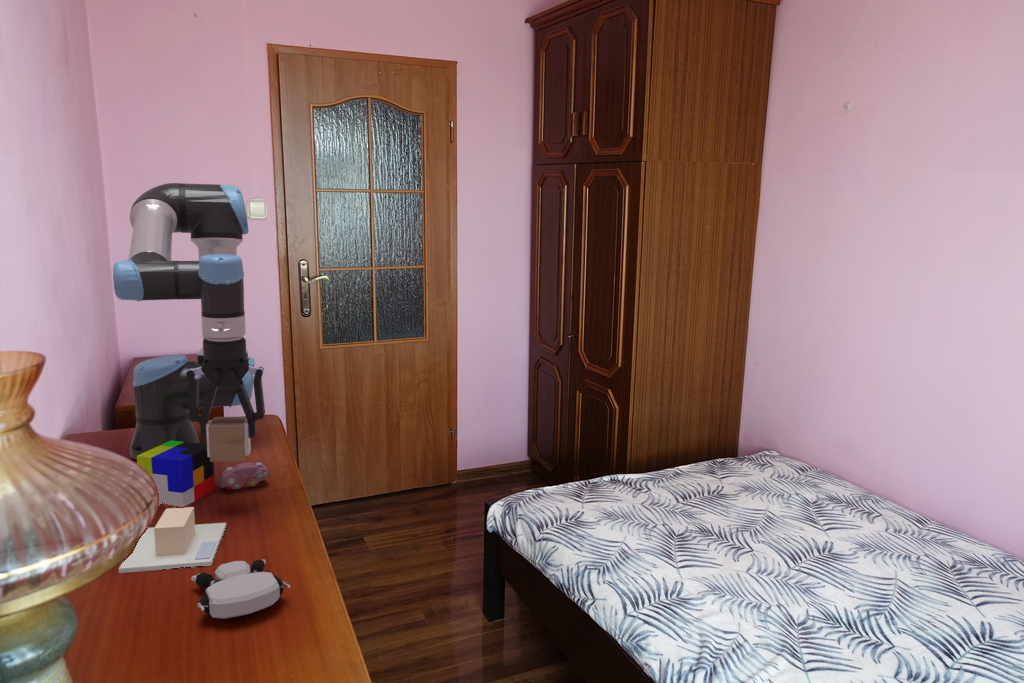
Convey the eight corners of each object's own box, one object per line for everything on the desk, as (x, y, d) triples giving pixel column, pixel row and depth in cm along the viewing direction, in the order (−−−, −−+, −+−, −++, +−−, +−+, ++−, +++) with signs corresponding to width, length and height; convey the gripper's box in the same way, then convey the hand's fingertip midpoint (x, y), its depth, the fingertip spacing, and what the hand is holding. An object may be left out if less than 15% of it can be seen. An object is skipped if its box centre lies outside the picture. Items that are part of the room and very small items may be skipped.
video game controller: (220, 499, 145) (222, 476, 142) (216, 483, 148) (218, 460, 144) (268, 490, 151) (271, 468, 147) (264, 475, 154) (266, 453, 150)
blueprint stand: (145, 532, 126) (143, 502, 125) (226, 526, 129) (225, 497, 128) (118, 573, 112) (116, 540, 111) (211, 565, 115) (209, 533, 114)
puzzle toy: (183, 508, 137) (181, 460, 135) (139, 503, 139) (136, 456, 137) (214, 489, 146) (212, 444, 145) (173, 484, 148) (170, 440, 147)
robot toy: (188, 594, 108) (204, 637, 96) (186, 566, 108) (202, 606, 95) (268, 574, 115) (293, 612, 102) (266, 548, 114) (291, 583, 102)
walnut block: (215, 450, 136) (214, 417, 135) (248, 449, 138) (246, 416, 136) (210, 462, 130) (208, 427, 129) (243, 460, 132) (242, 425, 130)
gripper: (164, 341, 124) (171, 463, 128) (275, 341, 128) (278, 458, 133) (174, 333, 131) (181, 449, 135) (279, 333, 135) (282, 445, 140)
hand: (229, 453), depth 134 cm, fingers closed on walnut block, 6 cm apart
